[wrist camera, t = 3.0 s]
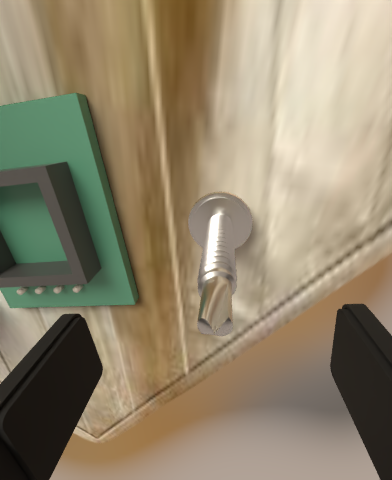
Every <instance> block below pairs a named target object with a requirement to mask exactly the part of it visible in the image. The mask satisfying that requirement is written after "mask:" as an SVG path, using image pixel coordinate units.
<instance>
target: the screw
mask: <svg viewBox="0 0 392 480" xmlns="http://www.w3.org/2000/svg"><path fill="white" fill-rule="evenodd" d="M188 223H189V230H190V233H191V235H192V237H193V239H194V240H195V241H196V242H197V244H198V245H200V246H201V247H203V253H202V258H201V263H200V269H199V276H198V293H199V295H200V297H201V302H200V309H199V316H198V323H197V326H198V329H199V331H200V332H201V333H202V334H212V335H218V336H225V335H227V334H229V333H230V332H231V331H232V328H233V317H232V295H233V294H234V292H235V291H236V287H237V285H236V281H237V275H236V263H235V249H237V248H238V247H240V246H241V245H242V244H244V243H245V242H246V240H247V239H248V237H249V236H250V233H251V231H252V225H253V221H252V215H251V212H250V209H249V208H248V206H247V204H246V203H245V202H244V201H243V200H242V199H241V198H239V197H238V196H236V195H234V194H231V193H228V192H214V193H210V194H207V195H205V196H204V197H202V198H201V199H199V200H198V201H197V202H196V203H195V205H194V206H193V208H192V210H191V213H190V215H189V221H188Z"/></svg>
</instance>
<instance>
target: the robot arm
mask: <svg viewBox="0 0 392 480" xmlns="http://www.w3.org/2000/svg"><path fill="white" fill-rule="evenodd" d="M330 367H331V372H332V376H333V378H334V380H335V383H336V385H337V387H338V389H339V391H340V393H341V395H342V397H343V400H344V402H345V404H346V406H347V408H348V410H349V413H350V414H351V417H352V419H353V421H354V424H355V426H356V428H357V430H358V432H359V434H360V436H361V438H362V440H363V443H364V445H365V447H366V449H367V451H368V454H369V456H370V458H371V460H372V462H373V464H374V466H375V469H376V471H377V473H378V475H379V477H380V479H381V480H392V336H391V334H390V333H389V332H388V331H387V330H386V329H385V327H384V326H383V325H382V324H381V323H380V322H379V320H378V319H377V318H376V317H375V316H374V314H373V313H372V312H371V311H370V310H369V309H368V308H367V306H366V305H364V304H345V305H343V307H342V309H339V310H338V311H337V317H336V325H335V333H334V340H333V348H332V356H331V364H330ZM102 371H103V367H102V363H101V361H100V358H99V355H98V353H97V350H96V347H95V344H94V342H93V339H92V336H91V334H90V331H89V328H88V326H87V323H86V320H85V318H83V317H82V316H81V315H80V314H64V315H62V316H61V317H60V318H59V319H58V320H57V321H56V322H55V323H54V324H53V326H52V327H51V328H50V329H49V330H48V331H47V332H46V333H45V335H44V336H43V337H42V338H41V339H40V340H39V341H38V342H37V344H36V345H35V346H34V347H33V348H32V349H31V350H30V351H29V353H28V354H27V355H26V356H25V357H24V358H23V359H22V360H21V361H20V363H19V364H18V365H17V366H16V367H15V368H14V369H13V370H12V372H11V373H10V374H9V375H8V376H7V377H6V378H5V379H4V381H3V382H2V383H1V384H0V480H49V479H50V477H51V475H52V473H53V471H54V469H55V467H56V465H57V463H58V461H59V459H60V457H61V455H62V453H63V451H64V449H65V447H66V445H67V443H68V441H69V439H70V437H71V435H72V433H73V431H74V429H75V427H76V425H77V423H78V421H79V419H80V417H81V415H82V413H83V411H84V409H85V407H86V405H87V403H88V401H89V399H90V397H91V395H92V393H93V391H94V389H95V387H96V385H97V383H98V381H99V379H100V377H101V375H102Z"/></svg>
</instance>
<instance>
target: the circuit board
mask: <svg viewBox="0 0 392 480" xmlns="http://www.w3.org/2000/svg"><path fill="white" fill-rule="evenodd" d="M0 290H1V292H2V294H3V295H4V297H5V299H6V301H7V303H8V305H9V307H10V308H30V307H65V306H101V305H135V304H136V302H137V300H138V298H139V295H138V292H137V288H136V284H135V280H134V277H133V273H132V269H131V265H130V261H129V258H128V254H127V250H126V246H125V243H124V239H123V235H122V231H121V228H120V224H119V220H118V216H117V213H116V209H115V205H114V201H113V198H112V194H111V190H110V186H109V183H108V179H107V175H106V171H105V168H104V164H103V160H102V156H101V153H100V149H99V145H98V141H97V138H96V134H95V130H94V126H93V123H92V119H91V115H90V111H89V108H88V104H87V100H86V96H85V95H83V94H78V93H72V94H67V95H61V96H55V97H49V98H43V99H38V100H32V101H26V102H20V103H14V104H9V105H3V106H0Z"/></svg>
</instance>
